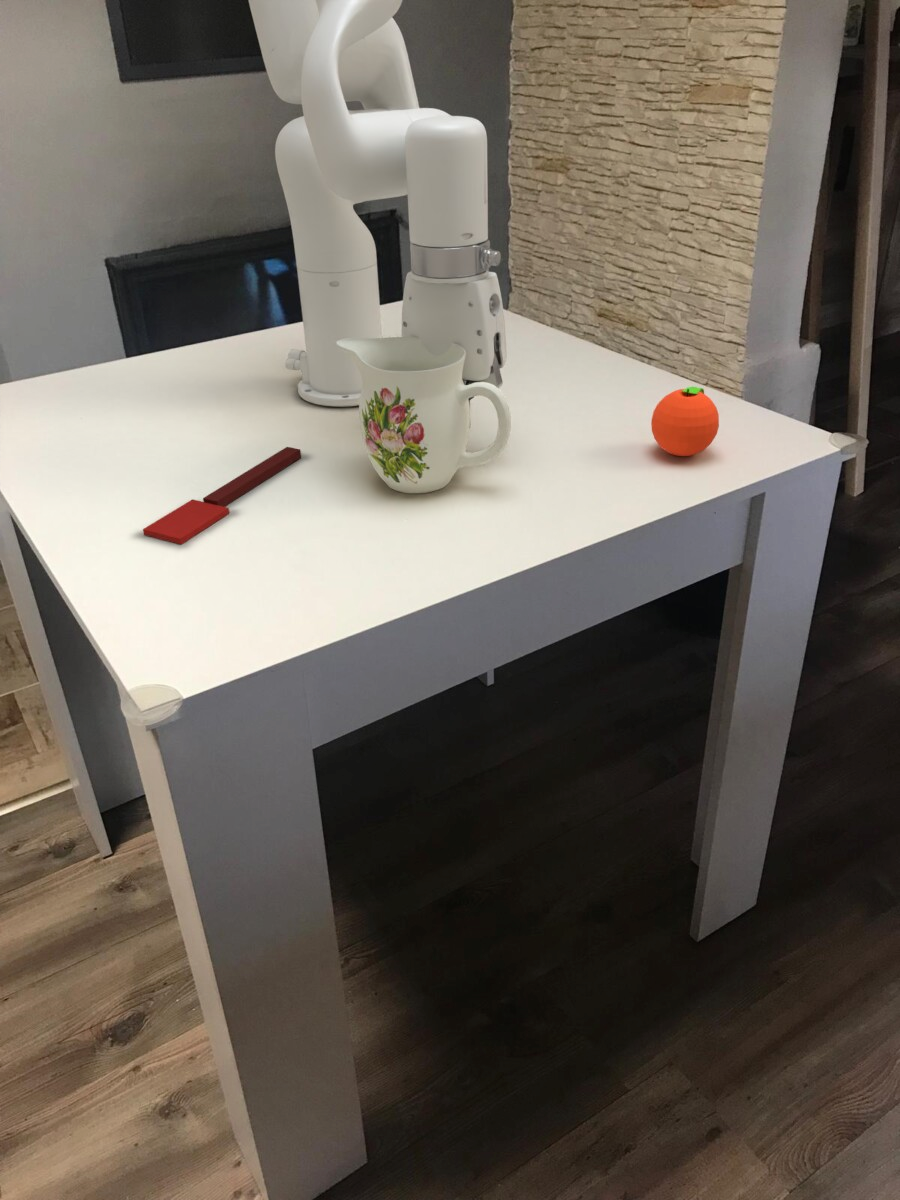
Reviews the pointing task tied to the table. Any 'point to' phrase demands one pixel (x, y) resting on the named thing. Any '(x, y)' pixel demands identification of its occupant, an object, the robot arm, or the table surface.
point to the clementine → (685, 422)
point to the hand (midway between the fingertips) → (455, 436)
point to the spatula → (217, 501)
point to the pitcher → (419, 412)
